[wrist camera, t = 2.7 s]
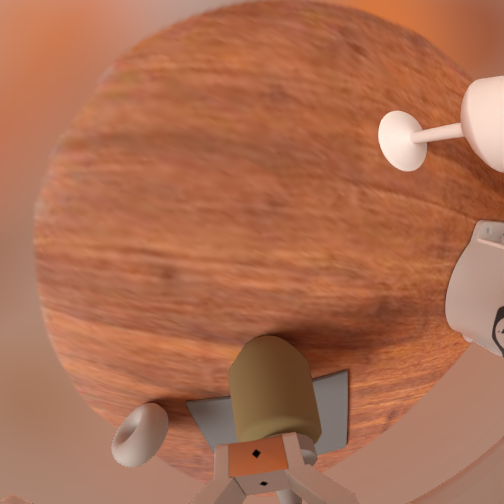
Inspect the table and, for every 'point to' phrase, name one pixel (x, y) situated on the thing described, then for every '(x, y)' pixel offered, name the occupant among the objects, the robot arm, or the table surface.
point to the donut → (140, 435)
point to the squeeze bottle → (275, 398)
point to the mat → (328, 402)
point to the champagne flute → (451, 129)
